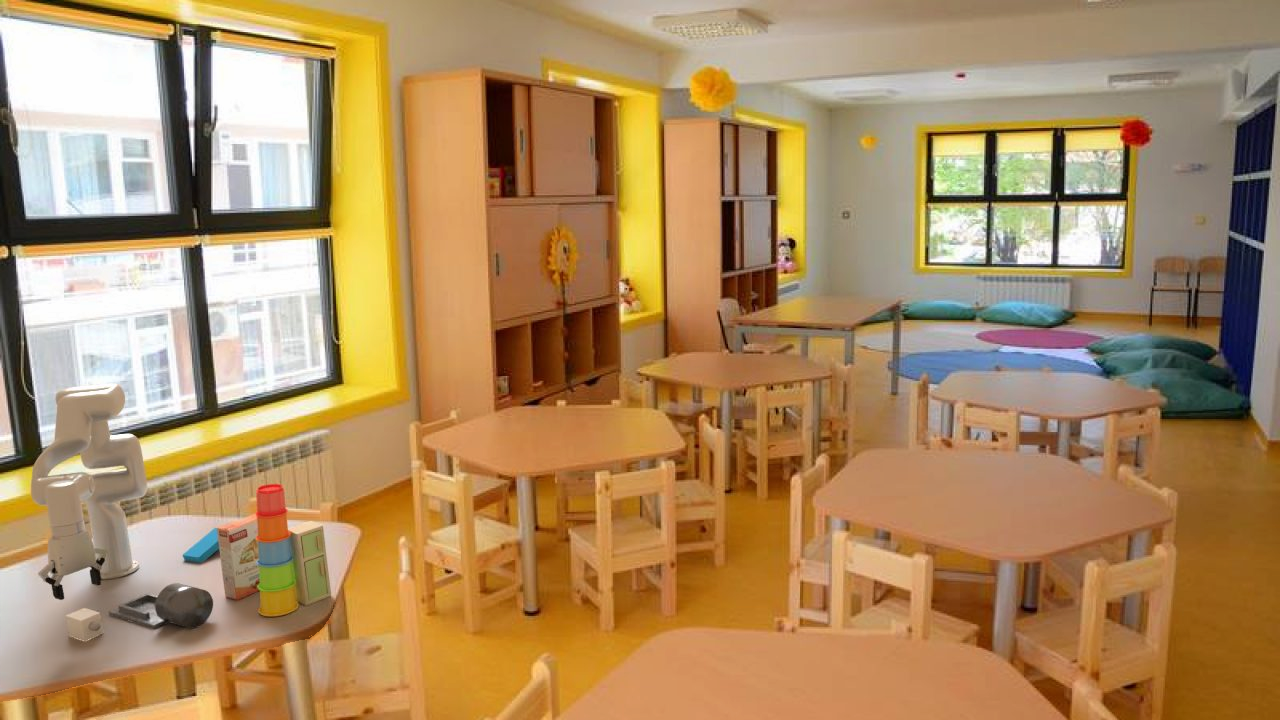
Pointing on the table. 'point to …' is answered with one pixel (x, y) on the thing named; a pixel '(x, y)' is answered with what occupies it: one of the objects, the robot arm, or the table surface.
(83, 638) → the block
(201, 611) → the electric bell
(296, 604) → the stacking cups
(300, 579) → the toy refrigerator
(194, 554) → the blue ramp
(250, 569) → the cracker box
